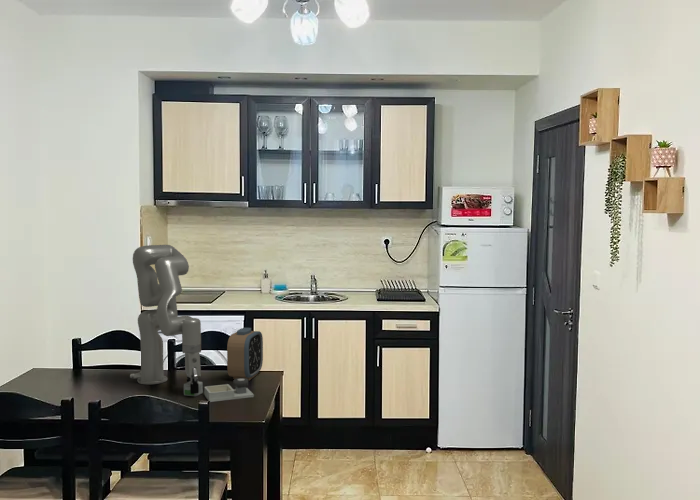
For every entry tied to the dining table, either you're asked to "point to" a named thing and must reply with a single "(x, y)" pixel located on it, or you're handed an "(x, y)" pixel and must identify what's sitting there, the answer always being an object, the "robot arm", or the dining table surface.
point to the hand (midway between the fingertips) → (192, 390)
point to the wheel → (240, 382)
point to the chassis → (226, 393)
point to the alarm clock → (244, 353)
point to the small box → (187, 389)
